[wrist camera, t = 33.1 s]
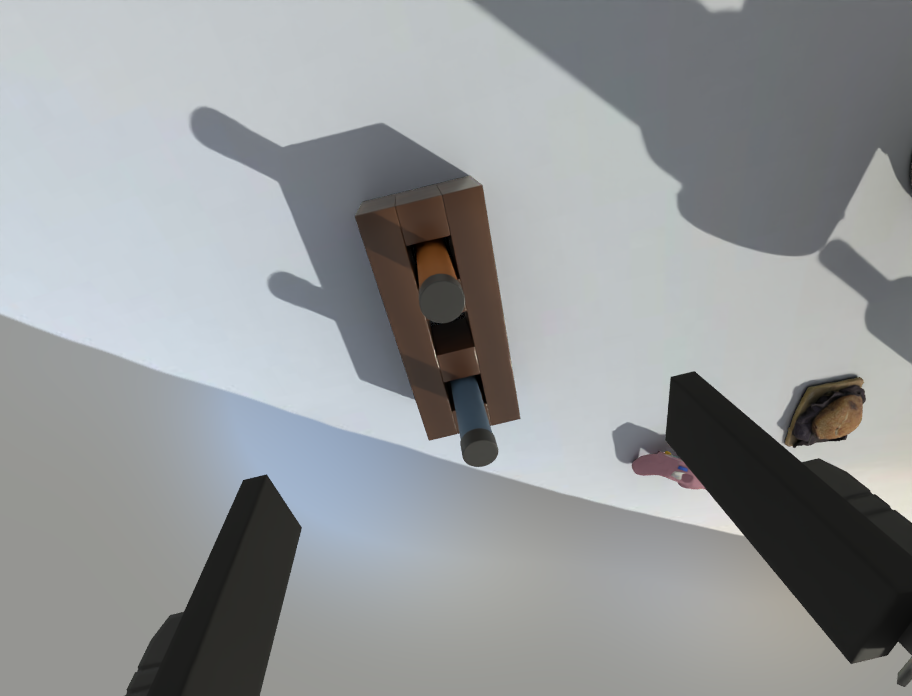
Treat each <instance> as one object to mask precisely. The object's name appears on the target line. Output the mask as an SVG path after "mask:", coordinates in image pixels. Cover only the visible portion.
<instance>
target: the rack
mask: <svg viewBox="0 0 912 696" xmlns="http://www.w3.org/2000/svg"><path fill="white" fill-rule="evenodd" d="M355 219H356V222H357V225H358V228H359V231H360V234H361V237H362V240H363V243H364V246H365V249H366V252H367V255H368V258H369V261H370V264H371V267H372V270H373V273H374V277H375V280H376V283H377V286H378V289H379V292H380V295H381V298H382V301H383V304H384V307H385V310H386V313H387V316H388V319H389V322H390V325H391V328H392V331H393V334H394V337H395V340H396V343H397V346H398V349H399V352H400V355H401V358H402V361H403V364H404V367H405V370H406V373H407V376H408V379H409V382H410V385H411V388H412V391H413V394H414V397H415V400H416V403H417V406H418V409H419V412H420V415H421V418H422V421H423V424H424V427H425V430H426V433H427V436H428V439H429V440H434V439H438V438H442V437H446V436H450V435H455V434H457V433H458V434H459V433H460V432H459V427H458V421H457V416H456V410H455V405H454V399H453V394H452V388H451V383H450V381H452V380H456V379H460V378H464V377H468V376H473V375H476V379H477V382H478V386H479V389H480V393H481V396H482V400H483V403H484V407H485V410H486V414H487V417H488V420H489V424H490V426H491V425H496V424H501V423H505V422H509V421H513V420H517V419H520V413H519V406H518V400H517V394H516V388H515V382H514V376H513V370H512V364H511V357H510V351H509V345H508V339H507V333H506V327H505V321H504V314H503V308H502V302H501V296H500V290H499V284H498V278H497V272H496V265H495V259H494V253H493V247H492V241H491V235H490V229H489V223H488V216H487V210H486V204H485V198H484V192H483V186H482V185H481V184H480V183H479V182H478V181H476V180H475V179H474V178H472V177H471V176H466V177H462V178H458V179H454V180H450V181H446V182H441V183H437V184H433V185H429V186H425V187H421V188H417V189H413V190H409V191H405V192H401V193H397V194H392V195H388V196H384V197H380V198H376V199H372V200H368V201H364V202H362V203H361V205H360V207H359V209H358V211H357V213H356V215H355ZM446 236H448V241H449V245H450V250H451V254H452V257H450V260H451V263H452V266H453V269H454V272H455V275H456V277H457V280H458V282H459V283H460V285H461V287H462V290H463V293H464V296H465V307H464V309H463V311H462V312H464V314H465V318H466V319H465V318H464V319H459V320H455V321H451V322H448V323H443V324H439V325H435V326H432V325H431V321H430V320H429V319H427V318H426V317H425V316H424V315H423V313H422V311H421V309H420V305H419V279H418V269H417V266H415V262H414V258H413V255H412V251H411V247H410V245H413V244H417V243H421V242H425V241H429V240H434V239H438V238H442V237H446Z"/></svg>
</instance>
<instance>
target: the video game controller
mask: <svg viewBox="0 0 912 696" xmlns="http://www.w3.org/2000/svg"><path fill="white" fill-rule="evenodd" d="M632 469H633V471H634V472H635V473H636V474H638V475H643V476H645V475H660V476H664V477H667V478H669V479H671V480H674V481H677V482H678V484H679V485H680V486H681V487H684V488H689V489H705V487H704V486H703V485H702V484H701V483H700V481H699V480H698V479H697V478H696V477H695V475H694V474H693V473H692V472H691V470H690V469H689V468H688V467H687V466H686V464H685V463H684V462H683V461H682V460H681V458H678V457H675V456H672V455H671V453H670V452H668V451H665V453H663V452H660V451H658V454H648V455H644V456H641V457H639V458H637V459H636V460H635V461H634V462H633V463H632Z"/></svg>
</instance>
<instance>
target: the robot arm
mask: <svg viewBox="0 0 912 696" xmlns="http://www.w3.org/2000/svg"><path fill="white" fill-rule="evenodd" d="M910 179H911V187H912V163H911V172H910ZM665 440H666V442H667V443H668V444H669V445H670V446H671V448H672V449H673V450H674V451H675V452H676V454H677V455H678V456H679V457H680V458H681V460H682V461H683V462H684V463H685V464H686V466H687V467H688V468H689V469H690V470H691V472H692V473H693V474H694V475H695V477H696V478H697V479H698V480H699V481H700V483H701V484H702V485H703V486H704V487H705V489H706V490H707V491H708V492H709V493H710V495H711V496H712V497H713V498H714V499H715V501H716V502H717V503H718V504H719V505H720V507H721V508H722V509H723V510H724V511H725V513H726V514H727V515H728V516H729V518H730V519H731V520H732V521H733V522H734V524H735V525H736V526H737V527H738V528H739V530H740V531H741V532H742V533H743V534H744V536H745V537H746V538H747V539H748V540H749V542H750V543H751V544H752V545H753V546H754V548H755V549H756V550H757V551H758V552H759V554H760V555H761V556H762V557H763V559H764V560H765V561H766V562H767V563H768V565H769V566H770V567H771V568H772V569H773V571H774V572H775V573H776V574H777V575H778V577H779V578H780V579H781V580H782V581H783V583H784V584H785V585H786V586H787V587H788V589H789V590H790V591H791V592H792V594H793V595H794V596H795V597H796V598H797V599H798V601H799V602H800V603H801V604H802V606H803V607H804V608H805V609H806V610H807V612H808V613H809V614H810V615H811V616H812V618H813V619H814V620H815V621H816V622H817V623H818V625H819V626H820V627H821V628H822V630H823V631H824V632H825V633H826V635H827V636H828V637H829V638H830V639H831V641H833V643H834V644H835V645H836V647H837V648H838V649H839V650H840V651H841V652H842V654H843V655H844V656H845V657H846V659H847V660H848V661H849V662H850V663H851V664H853V663H857V662H861V661H865V660H870V659H874V658H878V657H882V656H887V655H888V654H889V652H890V651H891V650H892V649H893V647H894V646H895V645H896V643H897V642H899V643H901V644H902V646H903V647H904V648H905V649H906V650H907V651H908V652H909V653H910V654H911V655H912V523H911V522H910V521H909V520H907V519H906V518H905V517H904V516H902V515H901V514H900V513H898V512H897V511H896V510H892V509H891V508H890V506H889V505H888V504H887V503H886V502H884V501H883V500H882V499H881V498H879V497H878V496H877V495H875V494H874V495H873V494H872V493H871V492H870V490H869V489H868V488H867V487H865V486H864V485H863V484H861V483H860V482H859V481H858V480H856V479H855V478H854V477H853V476H851V475H850V474H849V473H847V472H846V471H844V470H842V469H840V468H838V467H836V466H833V465H831V464H829V463H827V462H825V461H823V460H821V459H819V458H818V459H814V460H810V461H806V462H801V461H799V460H798V459H797V458H796V457H795V456H794V455H792V454H791V453H790V452H789V451H788V450H787V449H785V448H784V447H783V446H782V445H781V444H779V443H778V442H777V441H776V440H775V439H774V438H772V437H771V436H770V435H769V434H768V433H767V432H765V431H764V430H763V429H762V428H761V427H759V426H758V425H757V424H756V423H755V422H754V421H752V420H751V419H750V418H749V417H748V416H747V415H745V414H744V413H743V412H742V411H741V410H739V409H738V408H737V407H736V406H735V405H734V404H732V403H731V402H730V401H729V400H728V399H726V398H725V397H724V396H723V395H722V394H721V393H719V392H718V391H717V390H716V389H715V388H714V387H712V386H711V385H710V384H709V383H708V382H706V381H705V380H704V379H703V378H702V377H701V376H699V375H698V374H697V373H696V372H695V371H694V372H690V373H685V374H681V375H677V376H673V377H671V381H670V392H669V404H668V415H667V427H666V438H665ZM301 528H302V527H301V526H300V524H299V523H298V521H297V520H296V518H295V517H294V515H293V514H292V512H291V511H290V509H289V508H288V506H287V504H286V503H285V501H284V500H283V498H282V497H281V496H280V494H279V492H278V491H277V489H276V488H275V486H274V485H273V483H272V482H271V480H270V479H269V477H268V476H267V475H263V476H259V477H254V478H250V479H246V480H243V482H242V484H241V486H240V488H239V491H238V493H237V495H236V497H235V500H234V502H233V504H232V506H231V509H230V511H229V513H228V515H227V517H226V520H225V522H224V524H223V527H222V529H221V531H220V533H219V535H218V538H217V540H216V542H215V544H214V546H213V549H212V551H211V553H210V555H209V558H208V560H207V562H206V564H205V567H204V569H203V571H202V573H201V576H200V578H199V580H198V582H197V584H196V587H195V589H194V591H193V594H192V596H191V598H190V600H189V602H188V604H187V607H186V609H185V611H184V612H181V613H178V614H173V615H170V616H169V618H168V619H167V620H166V621H165V623H164V624H163V625H162V626H161V628H160V629H159V630H158V632H157V633H156V634H155V636H154V637H153V638H152V640H151V641H150V643H149V645H148V647H147V649H146V651H145V653H144V655H143V657H142V660H141V662H140V664H139V666H138V671H137V672H136V673H135V674H134V676H133V678H132V680H131V682H130V684H129V686H128V688H127V694H126V695H125V696H260V692H261V688H262V684H263V680H264V676H265V672H266V668H267V664H268V660H269V656H270V652H271V648H272V644H273V640H274V636H275V632H276V628H277V624H278V620H279V616H280V612H281V608H282V604H283V600H284V596H285V592H286V588H287V584H288V580H289V576H290V572H291V568H292V564H293V560H294V556H295V553H296V548H297V544H298V540H299V537H300V533H301ZM911 680H912V657H911V658H910V660H909V661H908V662H907V663H906V664H905V665H904V667H903V668H902V669H901V670H900V671H899V672H898V679H897V684H899V685H901V686H903V687H905V686H906V685H907V684H908V683H909V682H910V681H911Z"/></svg>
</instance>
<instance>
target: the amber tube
mask: <svg viewBox="0 0 912 696" xmlns="http://www.w3.org/2000/svg"><path fill="white" fill-rule="evenodd" d="M415 248H416V258H417V269H418V279H419V305H420V309H421V311H422V313H423V315H424V316H425V317H426V318H427V319H429V320H431V321H433V322H436V323H448V322H451V321H453V320H455V319H456V318H457V317H459V316H460V314H461V313H462V311H463V309H464V307H465V296H464V293H463V290H462V287H461V285H460V283H459V282H458V280H457V277H456V275H455V272H454V269H453V266H452V263H451V260H450V257H449V254H448V252H447V249H446V246H445V243H444V240H443V237H442V238H438V239H434V240H429V241H425V242H421V243H417V244H415Z"/></svg>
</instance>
